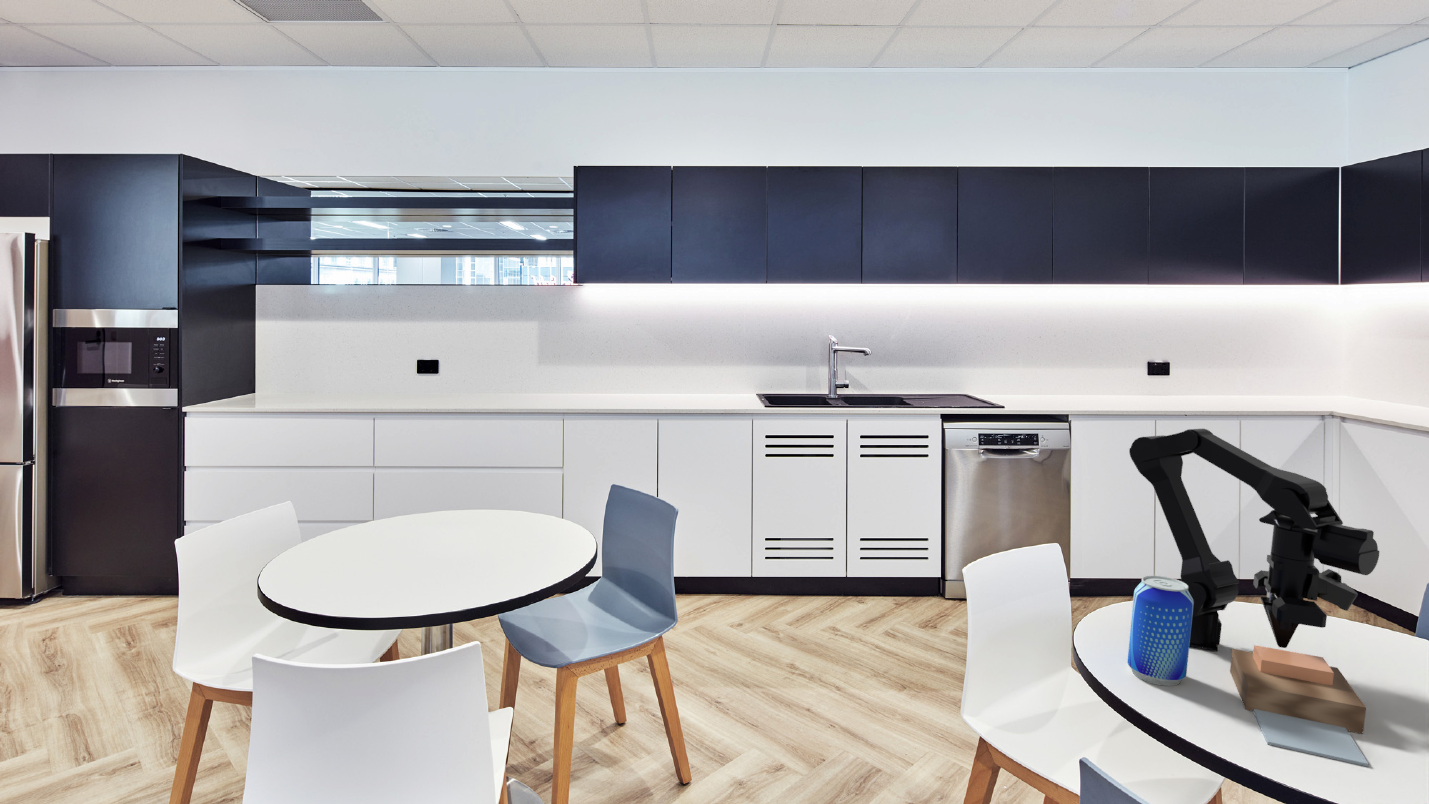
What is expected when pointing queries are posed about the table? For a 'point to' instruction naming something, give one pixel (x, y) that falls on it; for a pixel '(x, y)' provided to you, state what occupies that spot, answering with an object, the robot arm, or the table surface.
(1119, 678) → the table surface
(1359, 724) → the brown box
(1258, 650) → the peach rectangular block
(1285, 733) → the mat
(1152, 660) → the beer can
